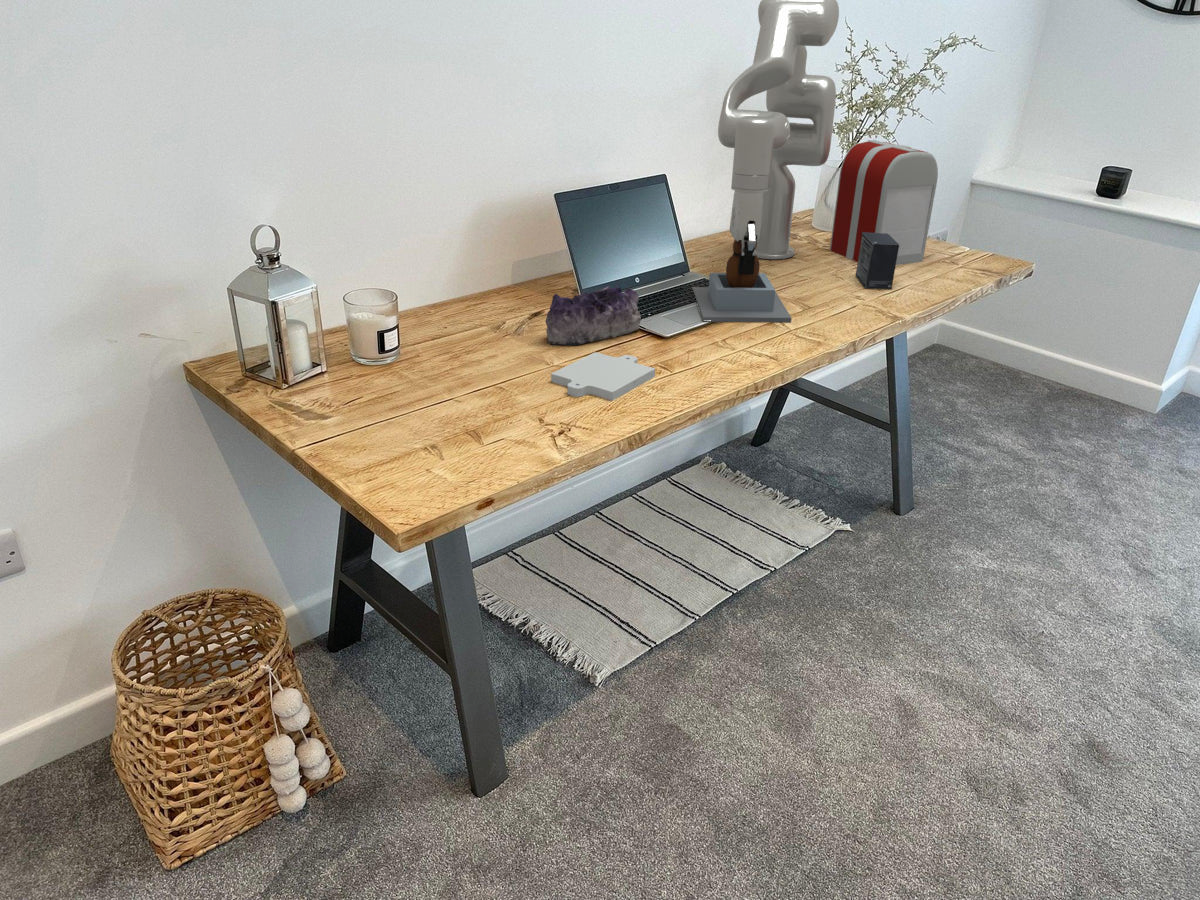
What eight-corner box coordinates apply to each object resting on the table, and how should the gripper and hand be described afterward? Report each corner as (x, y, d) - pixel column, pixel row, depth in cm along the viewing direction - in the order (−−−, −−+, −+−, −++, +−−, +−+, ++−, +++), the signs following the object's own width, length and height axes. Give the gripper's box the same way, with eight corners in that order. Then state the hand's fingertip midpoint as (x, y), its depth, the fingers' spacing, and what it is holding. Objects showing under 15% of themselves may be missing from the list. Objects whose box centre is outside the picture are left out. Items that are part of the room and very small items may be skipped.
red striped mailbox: (879, 244, 245) (895, 137, 233) (924, 261, 231) (945, 149, 218) (827, 249, 239) (841, 141, 227) (871, 268, 225) (889, 153, 212)
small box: (893, 289, 210) (901, 244, 205) (864, 289, 210) (871, 243, 205) (882, 276, 219) (889, 232, 214) (854, 275, 219) (860, 231, 214)
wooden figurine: (735, 295, 192) (741, 222, 185) (720, 287, 197) (725, 216, 190) (762, 290, 195) (769, 219, 188) (746, 283, 199) (752, 213, 193)
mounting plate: (603, 407, 152) (603, 397, 151) (542, 388, 158) (541, 378, 157) (662, 374, 165) (662, 364, 164) (603, 357, 171) (603, 348, 170)
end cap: (692, 291, 206) (693, 267, 204) (772, 292, 207) (775, 268, 204) (703, 321, 188) (704, 295, 186) (791, 322, 189) (794, 296, 186)
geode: (571, 356, 171) (564, 303, 167) (535, 346, 180) (528, 295, 176) (652, 329, 182) (648, 279, 178) (615, 321, 191) (610, 273, 187)
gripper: (725, 173, 193) (719, 257, 201) (738, 190, 178) (731, 281, 186) (761, 173, 193) (753, 258, 202) (777, 191, 178) (768, 281, 186)
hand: (742, 268), depth 194 cm, fingers closed on wooden figurine, 6 cm apart
